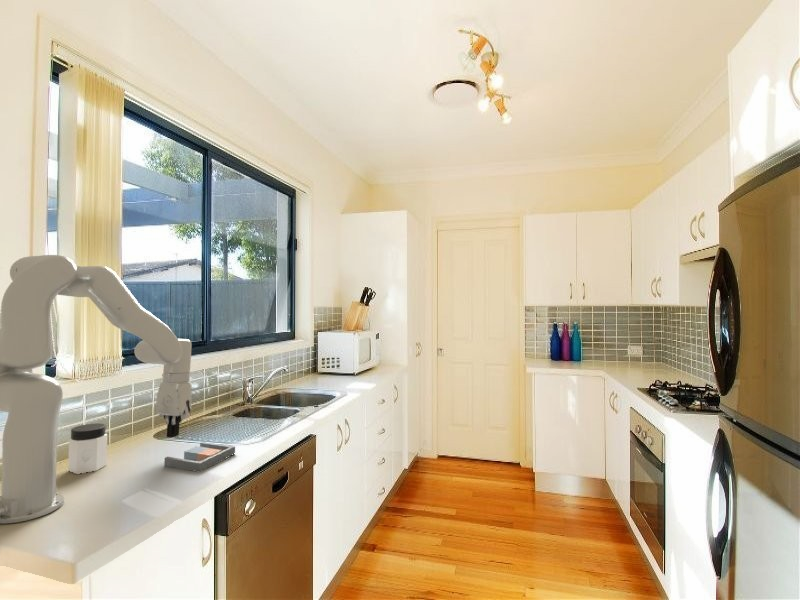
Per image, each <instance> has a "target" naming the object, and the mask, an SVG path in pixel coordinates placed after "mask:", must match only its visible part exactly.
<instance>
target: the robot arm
mask: <svg viewBox="0 0 800 600" xmlns="http://www.w3.org/2000/svg"><path fill="white" fill-rule="evenodd" d="M9 277H10V279H11V282H10V284H9V285H8V287H6V289H5V291H4V294H3V296H2V299H1V306H0V308H1V309H0V321H1V322H0V327H1V328H0V412H5V413H7V414H8V415H7V418H6V422H5V424H4V428H3V433H2V442H1V445H2V454H1V455H2V457H1V461H2V462H1V489H0V490H1V495H0V524H13V523H14V524H17V523H20V522H21V523H22V522H26V521H30V520H34V519H36V518H41V517H43V516H46V515H48V514H50V513H53V512H55V511H56V510H57V509H59V508H60V507H62V506H63V504H64V503H65V496H64V495H63V494H61V493H58V492H57V458H58V457H57V456H58V455H57V454H58V424H59V423H58V422H59V417H60V412H61V411H60V410H61V407H62V403H63V396H64V395H63V388H62V386H61V384H60V383H59V382H58V381H57V380H56V379H55V378H53V377H51V376H49V375H45V374H40V373H35V372H33V369H38V368H41V367H42V366H44V365H46V364H47V363H48V362H49V361H51V358H52V355H53V351H54V350H53V348H54V347H53V337H52V336H53V335H52V333H53V332H52V321H51V310H52V309H51V308H52V304H53V302H54V300H55V298H56V297H57V295H58V296H65V297H66V296H67V297H74V298H89V299H90V301H91V302H93V304H94V305H95V306H96V307H97V309H99V310H100V312H101V313H102V314H103V315H104V317H105V318H106V320H108V321H109V323H111V324H112V325H113V326H114V327H116V328H118V329H120V330H121V331H124V332H127V333H129V334H131V335H133V336H135V337H138V338H140V339H141V341H139V342H138V343H137V344H136V346H135V347H134V355H135V357H136V359H137V360H138V361H140V362H142V363H145V364H152V365H153V364H154V365H162V366H163V372H162V374H161V376H162V381H160V384H159V387H158V391H157V395H156V403H155V405H156V406H155V411H156V413H157V414H158V415H159V417H162V418H164V420H165V424H167V425H166V437H167V438H174V437H179V434H180V424H181V423H182V421H183V420H186V419H189V418H190V414H189V413H191V410H192V406H193V405H192V400H193V398H192V396H193V395H192V384H191V382H190V379H191V378H190V377H191V376H190V375H191V365H192V364H191V363H192V362H191V361H192V347H193V346H192V345H193V344H192V341H191V340H190V339H189V338H188V339H187V338H178V337H177V336H176V334H175V333H174V332H173V330H172V329H171V328H170V327H169V326H168V325H167V324H165V322H163V321H162V320H160V319H159V318H157V317H156V316H155V315H154V314H152V313H151V312H150V311H148V309H147V310H146V309H145V308H144V307H143V306H142V305H141V304H140V303H139V302H138V300H137V299H136V298H135V296H134V295H133V294H132V293H131V291H130V290H129V289H128V287H127V286H126V285H125V284H124V282H123V281H122V280H121V279H120V277H119V276H118V275H117V273H116V272H115V271H114V270H112V269H111V268H109V267H107V266H102V265H94V266H93V265H90V266H89V265H86V266H82V265H81V266H80V265H79V266H78V265H76V263H74V261H73V260H72V259H70V258H69V257H67V256H63V255H61V254H60V255H59V254H43V255H31V256H30V255H29V256H25V257H22V258H18V260H15V261H14V262H13V263H12V265H11V266H10V269H9Z"/></svg>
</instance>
